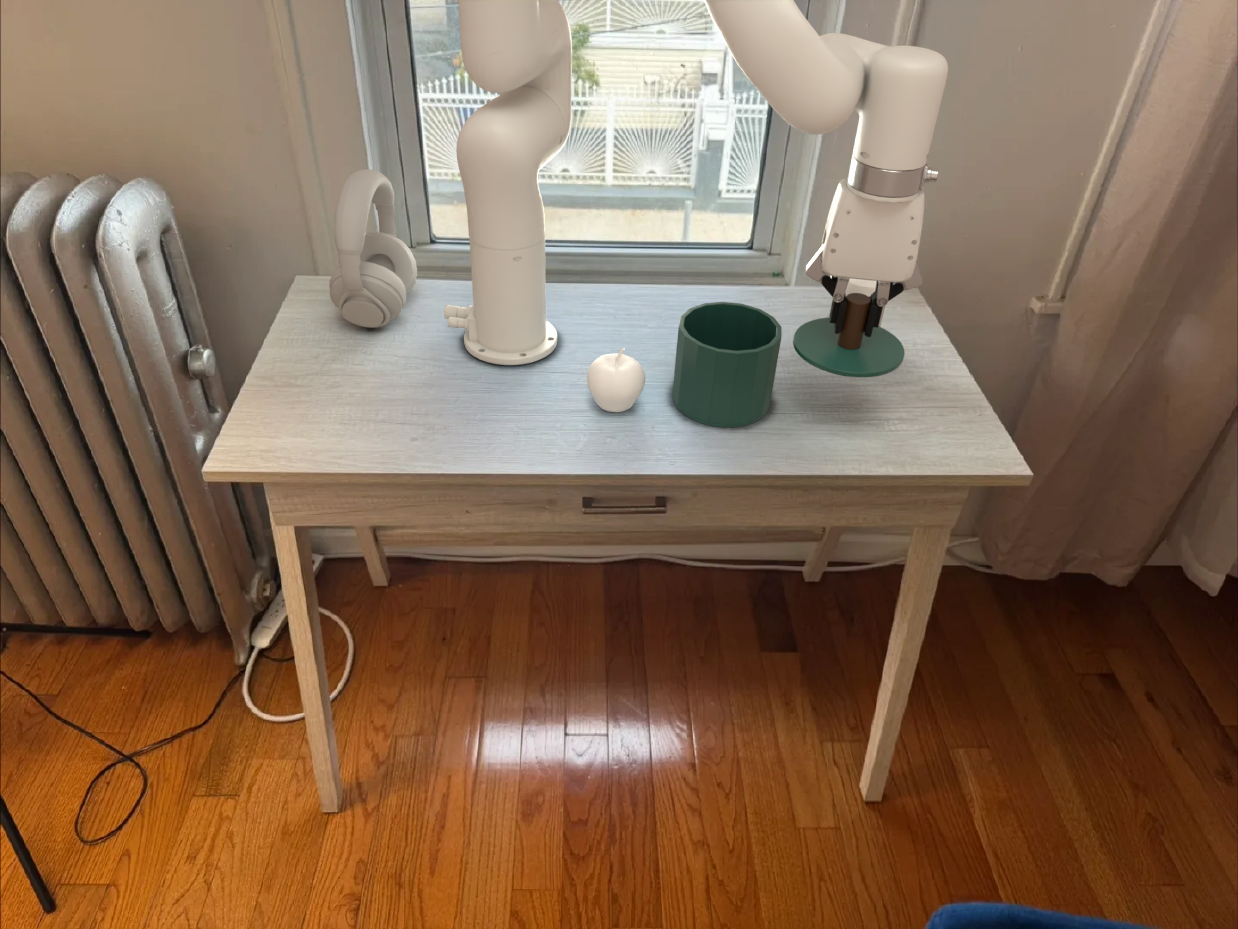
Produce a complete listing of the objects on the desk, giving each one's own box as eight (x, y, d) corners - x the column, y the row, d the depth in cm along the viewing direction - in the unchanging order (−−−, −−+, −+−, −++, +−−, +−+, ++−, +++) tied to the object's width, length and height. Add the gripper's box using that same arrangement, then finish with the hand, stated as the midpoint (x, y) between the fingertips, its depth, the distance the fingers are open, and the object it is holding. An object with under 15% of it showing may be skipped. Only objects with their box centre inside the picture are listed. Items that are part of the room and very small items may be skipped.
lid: (792, 375, 105) (802, 319, 101) (791, 320, 116) (800, 268, 111) (908, 387, 104) (923, 331, 100) (896, 331, 114) (910, 278, 110)
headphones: (398, 349, 123) (381, 205, 110) (322, 344, 123) (296, 199, 111) (429, 285, 137) (417, 151, 125) (361, 280, 137) (342, 147, 125)
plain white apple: (640, 423, 111) (643, 366, 107) (582, 416, 112) (583, 360, 107) (646, 391, 117) (650, 336, 112) (591, 385, 118) (592, 330, 113)
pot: (668, 421, 112) (675, 346, 106) (677, 368, 122) (683, 297, 115) (768, 432, 111) (781, 357, 105) (769, 378, 121) (781, 307, 114)
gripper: (958, 169, 99) (918, 321, 110) (806, 157, 100) (781, 307, 112) (970, 195, 93) (926, 353, 104) (808, 182, 94) (782, 338, 106)
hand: (852, 328), depth 108 cm, fingers closed on lid, 2 cm apart
